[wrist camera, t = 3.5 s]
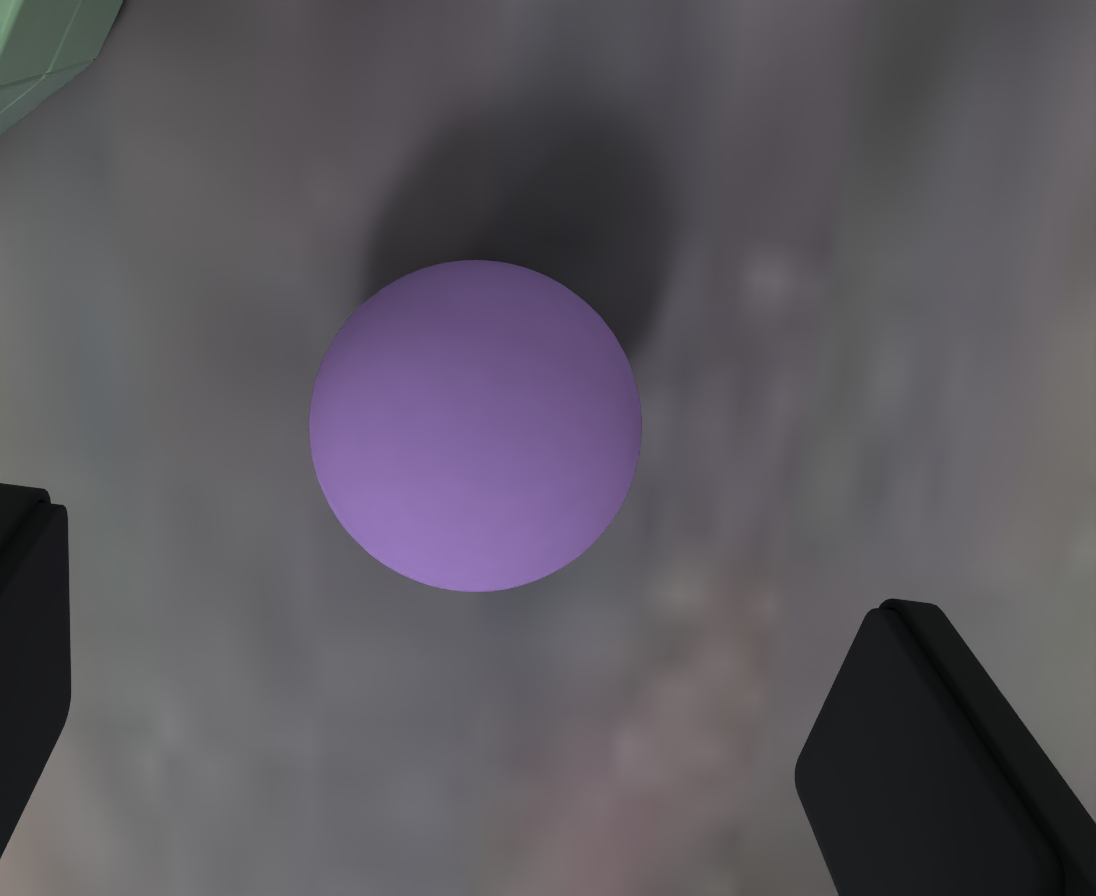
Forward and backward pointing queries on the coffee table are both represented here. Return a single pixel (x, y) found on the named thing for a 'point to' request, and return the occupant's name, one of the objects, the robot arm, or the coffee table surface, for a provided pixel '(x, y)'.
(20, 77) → the bowl
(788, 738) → the coffee table surface
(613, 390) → the ball
